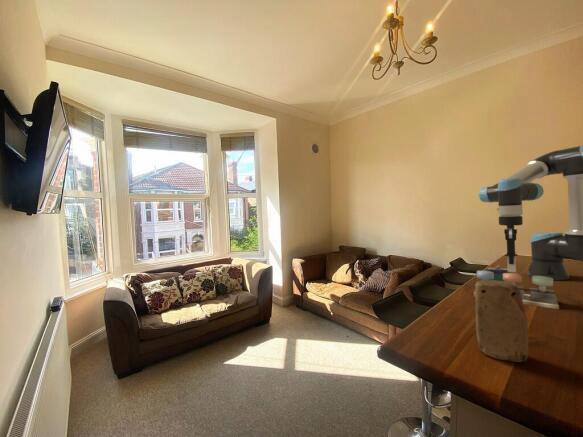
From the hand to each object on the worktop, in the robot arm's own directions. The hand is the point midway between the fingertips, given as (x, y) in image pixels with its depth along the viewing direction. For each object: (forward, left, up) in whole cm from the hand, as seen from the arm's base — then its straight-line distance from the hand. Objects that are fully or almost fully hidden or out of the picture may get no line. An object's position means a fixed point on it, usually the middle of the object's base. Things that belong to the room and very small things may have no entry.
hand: (511, 271), depth 105 cm
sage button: (-5, +7, -8) cm, 12 cm away
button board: (0, 0, -12) cm, 12 cm away
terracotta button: (0, 0, -8) cm, 8 cm away
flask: (-9, -13, -12) cm, 20 cm away
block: (+43, +29, -12) cm, 53 cm away
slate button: (+5, -7, -8) cm, 12 cm away
